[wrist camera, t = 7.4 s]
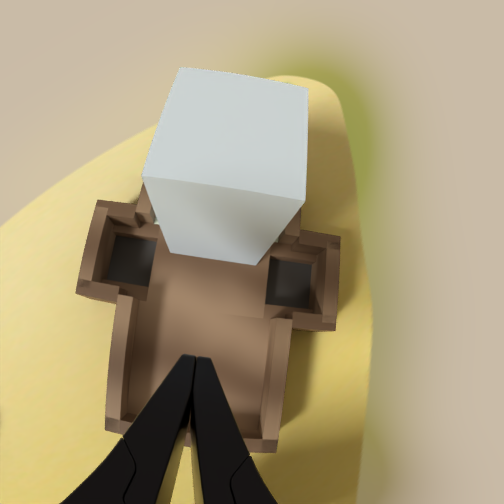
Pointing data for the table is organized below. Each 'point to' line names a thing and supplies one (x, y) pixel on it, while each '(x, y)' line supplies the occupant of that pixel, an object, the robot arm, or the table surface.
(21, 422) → the table surface
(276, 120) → the block
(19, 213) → the table surface
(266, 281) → the brown compartment tray
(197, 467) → the robot arm
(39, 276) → the table surface
